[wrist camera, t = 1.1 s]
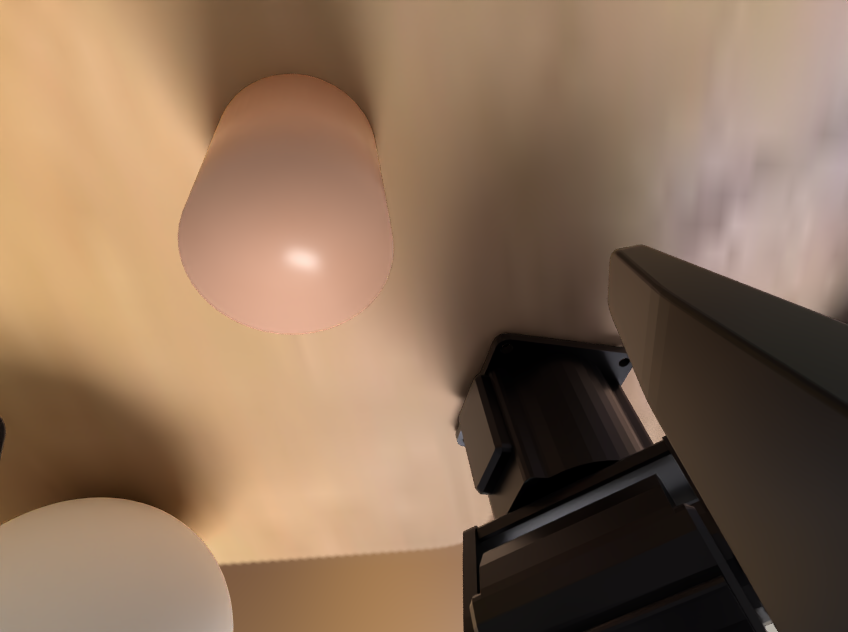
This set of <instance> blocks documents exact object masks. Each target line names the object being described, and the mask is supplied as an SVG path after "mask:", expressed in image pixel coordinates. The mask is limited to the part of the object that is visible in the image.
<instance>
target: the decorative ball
mask: <svg viewBox="0 0 848 632" xmlns="http://www.w3.org/2000/svg"><path fill="white" fill-rule="evenodd" d="M0 632H233V614H232V606H231V600H230V595H229V591H228V588H227V584H226V581H225V578H224V576H223V573H222V571H221V569H220V567H219V565H218V563H217V561H216V559H215V557H214V556H213V554H212V553H211V551H210V550H209V548H208V547H207V546H206V544H205V543H204V542H203V541H202V540H201V538H200V537H199V536H198V535H197V534H196V533H195V532H194V531H193V530H191V529H190V528H189V527H188V526H187V525H185V524H184V523H183V522H181V521H180V520H178V519H177V518H175V517H174V516H172V515H170V514H168V513H166V512H164V511H162V510H160V509H158V508H155V507H153V506H150V505H147V504H144V503H140V502H136V501H132V500H126V499H119V498H105V497H96V498H82V499H74V500H68V501H63V502H58V503H54V504H51V505H47V506H44V507H41V508H38V509H35V510H32V511H30V512H27V513H25V514H22V515H20V516H18V517H16V518H13V519H11V520H9V521H7V522H6V523H4V524H2V525H0Z"/></svg>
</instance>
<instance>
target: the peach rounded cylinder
mask: <svg viewBox="0 0 848 632" xmlns="http://www.w3.org/2000/svg"><path fill="white" fill-rule="evenodd" d="M178 246H179V253H180V257H181V261H182V264H183V267H184V269H185V272H186V274H187V276H188V277H189V279H190V281H191V283H192V284H193V286H194V287H195V288H196V290H197V291H198V292H199V294H200V295H201V296H202V297H203V298H204V299H205V300H206V301H207V302H208V303H209V304H210V305H212V306H213V307H214V308H215V309H216V310H218V311H219V312H221V313H222V314H224V315H225V316H227V317H228V318H230V319H232V320H234V321H236V322H238V323H240V324H243V325H245V326H248V327H250V328H253V329H257V330H261V331H265V332H270V333H276V334H290V335H291V334H307V333H314V332H319V331H323V330H327V329H330V328H333V327H335V326H338V325H340V324H342V323H344V322H346V321H348V320H350V319H352V318H353V317H355V316H356V315H358V314H359V313H361V312H362V311H363V310H364V309H365V308H367V307H368V306H369V305H370V304H371V303H372V302H373V300H374V299H375V298H376V297H377V296H378V294H379V293H380V291H381V290H382V289H383V287H384V285H385V283H386V281H387V279H388V276H389V273H390V270H391V267H392V262H393V255H394V242H393V234H392V228H391V223H390V218H389V212H388V207H387V202H386V196H385V191H384V185H383V180H382V175H381V169H380V164H379V159H378V153H377V148H376V142H375V138H374V135H373V131H372V129H371V126H370V124H369V121H368V120H367V118H366V116H365V115H364V113H363V111H362V110H361V109H360V108H359V106H358V105H357V104H356V103H355V102H354V101H353V100H352V99H351V98H350V97H349V96H348V95H347V94H346V93H344V92H343V91H342V90H341V89H339V88H337V87H336V86H334V85H332V84H331V83H328V82H326V81H324V80H321V79H319V78H315V77H312V76H308V75H301V74H280V75H273V76H269V77H265V78H263V79H260V80H258V81H255V82H253V83H252V84H250V85H248V86H247V87H245V88H244V89H243V90H241V91H240V92H239V93H238V94H237V95H236V96H235V97H234V98H233V99H232V100H231V101H230V103H229V104H228V106H227V107H226V109H225V110H224V112H223V114H222V117H221V119H220V121H219V123H218V126H217V128H216V131H215V133H214V136H213V138H212V141H211V143H210V146H209V148H208V150H207V153H206V155H205V158H204V160H203V163H202V165H201V168H200V170H199V172H198V175H197V177H196V180H195V182H194V185H193V187H192V190H191V192H190V195H189V197H188V199H187V202H186V204H185V207H184V209H183V212H182V215H181V219H180V223H179V231H178Z"/></svg>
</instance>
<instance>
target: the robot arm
mask: <svg viewBox="0 0 848 632" xmlns="http://www.w3.org/2000/svg"><path fill="white" fill-rule="evenodd" d="M608 305H609V310H610V313H611V316H612V319H613V321H614V323H615V326H616V328H617V331H618V333H619V335H620V338H621V340H622V343H623V345H624V347H625V348H624V347H616V346H608V345H599V344H591V343H583V342H575V341H567V340H559V339H551V338H543V337H535V336H527V335H519V334H511V333H504V334H501V335H499V336H497V337H496V338H495V340H494V341H493V343H492V346H491V348H490V351H489V353H488V355H487V358H486V360H485V363H484V365H483V368H482V370H481V373H480V374H479V375H477V376H476V377H475V378H474V380H473V382H472V385H471V387H470V390H469V392H468V395H467V397H466V399H465V402H464V404H463V407H462V409H461V412H460V414H459V417H458V419H459V423H460V424H459V426H458V428H457V431H456V438H457V442H458V444H459V445H461V446H464V447H465V448H466V452H467V456H468V460H469V464H470V468H471V472H472V477H473V481H474V485H475V488H476V490H477V491H478V492H479V494H486V495H488V497H489V501H490V505H491V509H492V512H493V516H494V520H492V521H490V522H488V523H486V524H484V525H482V526H480V527H478V526H474V527H472V528H470V529H468V530H466V531H464V532H463V622H464V632H768V631H767V630H766V628H765V626H766V625H769V624H772V623H773V624H774V626H775V628H776V629H777V631H778V632H848V324H846V323H843V322H841V321H838V320H836V319H833V318H830V317H828V316H825V315H823V314H820V313H818V312H815V311H812V310H810V309H807V308H805V307H802V306H800V305H797V304H794V303H792V302H789V301H787V300H784V299H782V298H779V297H776V296H774V295H771V294H769V293H766V292H764V291H761V290H758V289H756V288H753V287H751V286H748V285H746V284H743V283H740V282H738V281H735V280H733V279H730V278H728V277H725V276H722V275H720V274H717V273H715V272H712V271H710V270H707V269H704V268H702V267H699V266H697V265H694V264H692V263H689V262H686V261H684V260H681V259H679V258H676V257H674V256H671V255H668V254H666V253H663V252H661V251H658V250H656V249H653V248H650V247H648V246H645V245H634V246H629V247H625V248H620V249H616V250H614V251H613V252H612V254H611V257H610V264H609V284H608ZM505 344H509V346H507V347H502V346H503V345H505ZM623 358H624V359H623ZM621 359H623V360H621ZM620 360H621V361H620ZM632 367H633V369H634V372H635V374H636V376H637V379H638V381H639V384H640V386H641V388H642V391H643V393H644V395H645V397H646V399H647V402H648V404H649V405H650V407H651V409H652V411H653V413H654V415H655V417H656V418H657V420H658V422H659V424H660V425H661V427H662V429H663V431H664V432H665V434H666V436H664V437H662V439H663V440H661V441H659V442H657V443H655V444H653V442H652V440H651V439H650V437H649V435H648V433H647V432H646V430H645V428H644V426H643V425H642V423H641V421H640V419H639V417H638V416H637V414H636V412H635V410H634V409H633V407H632V405H631V403H630V402H629V400H628V398H627V396H626V395H625V393H624V391H623V389H622V388H621V385H622V383H623V382H624V380H625V378H626V377H627V375H628V373H629V372H630V370H631V368H632ZM5 436H6V428H5V424H4V421H3V419H2V418H1V416H0V458H1V454H2V450H3V445H4V441H5Z"/></svg>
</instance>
